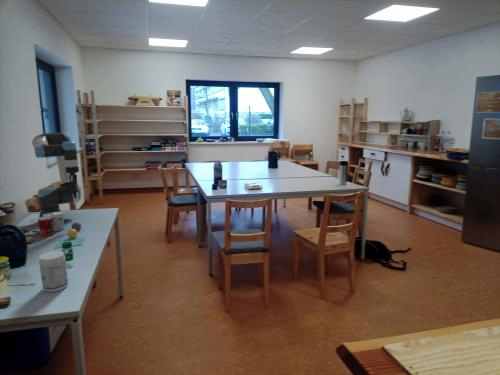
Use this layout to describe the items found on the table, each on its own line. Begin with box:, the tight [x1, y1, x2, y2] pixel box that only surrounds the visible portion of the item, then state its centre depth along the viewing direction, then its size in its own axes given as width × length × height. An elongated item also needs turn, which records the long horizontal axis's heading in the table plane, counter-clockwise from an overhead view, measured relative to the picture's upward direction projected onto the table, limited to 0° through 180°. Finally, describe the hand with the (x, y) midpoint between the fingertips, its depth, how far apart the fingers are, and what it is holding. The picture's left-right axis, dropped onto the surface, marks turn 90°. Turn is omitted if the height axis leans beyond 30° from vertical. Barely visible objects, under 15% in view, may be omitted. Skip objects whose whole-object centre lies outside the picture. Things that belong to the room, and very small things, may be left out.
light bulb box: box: [43, 211, 65, 232], centre depth 227 cm, size 11×7×11 cm, turn 131°
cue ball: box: [71, 221, 82, 232], centre depth 225 cm, size 6×6×6 cm
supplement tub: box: [38, 250, 69, 293], centre depth 150 cm, size 10×10×15 cm
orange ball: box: [66, 228, 78, 239], centre depth 212 cm, size 6×6×6 cm
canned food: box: [37, 216, 56, 238], centre depth 218 cm, size 8×8×11 cm
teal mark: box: [54, 236, 86, 249], centre depth 205 cm, size 14×14×1 cm
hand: (76, 202), depth 231 cm, fingers closed
